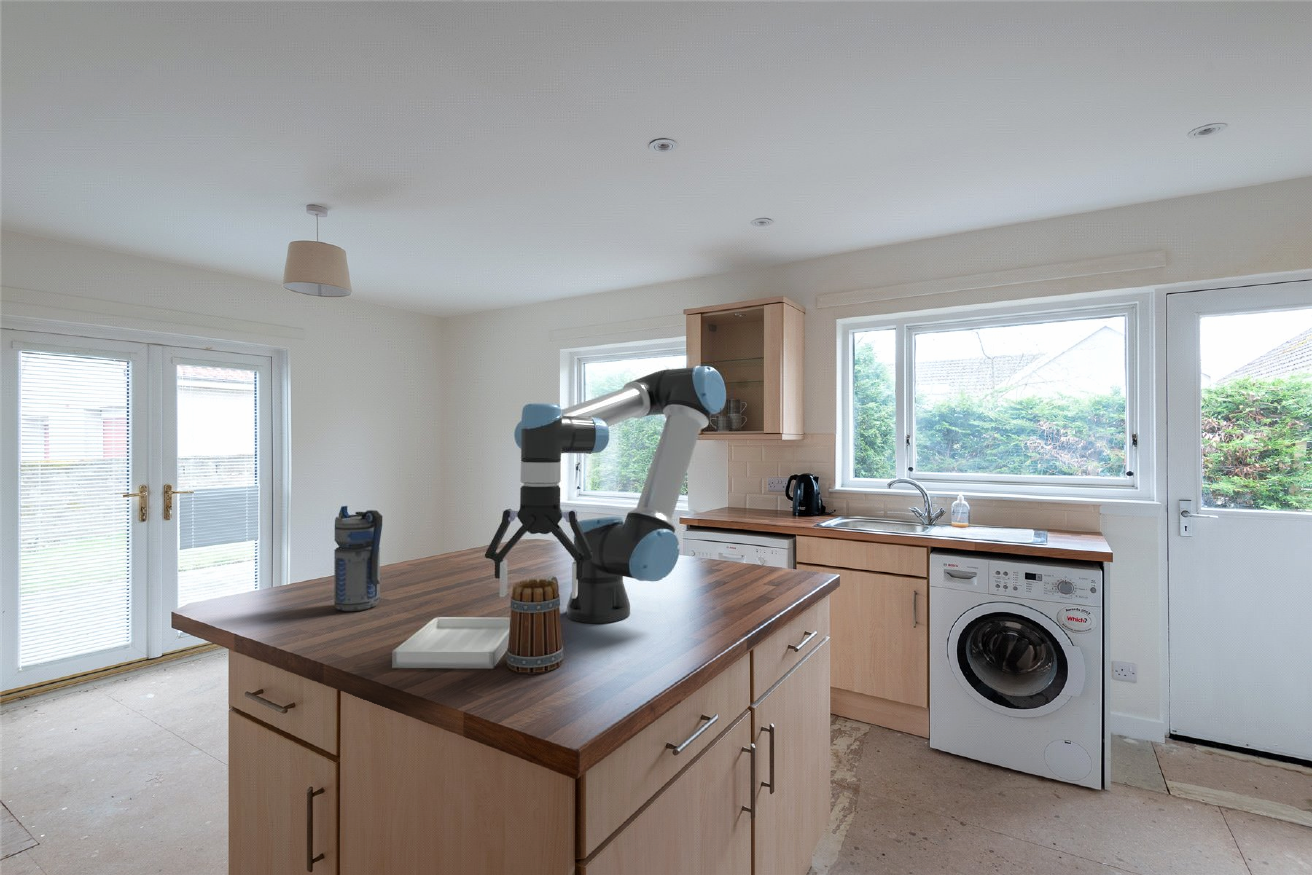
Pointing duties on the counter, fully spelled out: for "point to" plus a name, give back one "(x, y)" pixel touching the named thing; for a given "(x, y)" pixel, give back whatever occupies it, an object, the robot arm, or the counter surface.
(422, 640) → the white tray
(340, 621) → the counter surface
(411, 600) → the counter surface
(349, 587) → the grey blue grenade canister
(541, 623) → the mug
